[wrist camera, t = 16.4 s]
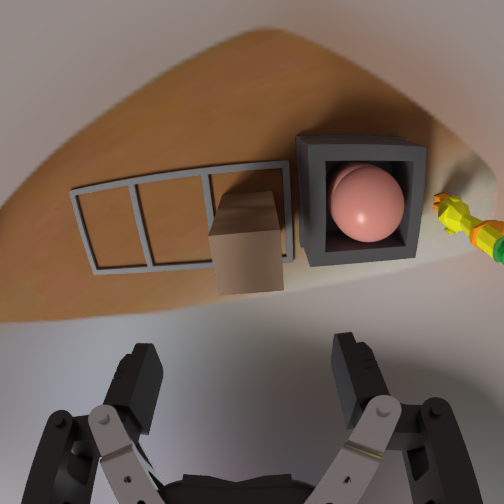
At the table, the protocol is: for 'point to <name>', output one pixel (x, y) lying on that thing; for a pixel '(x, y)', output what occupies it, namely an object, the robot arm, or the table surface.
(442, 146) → the table surface
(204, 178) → the frame
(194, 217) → the table surface
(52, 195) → the table surface
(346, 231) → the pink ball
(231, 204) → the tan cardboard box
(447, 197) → the toy figure
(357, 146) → the housing
